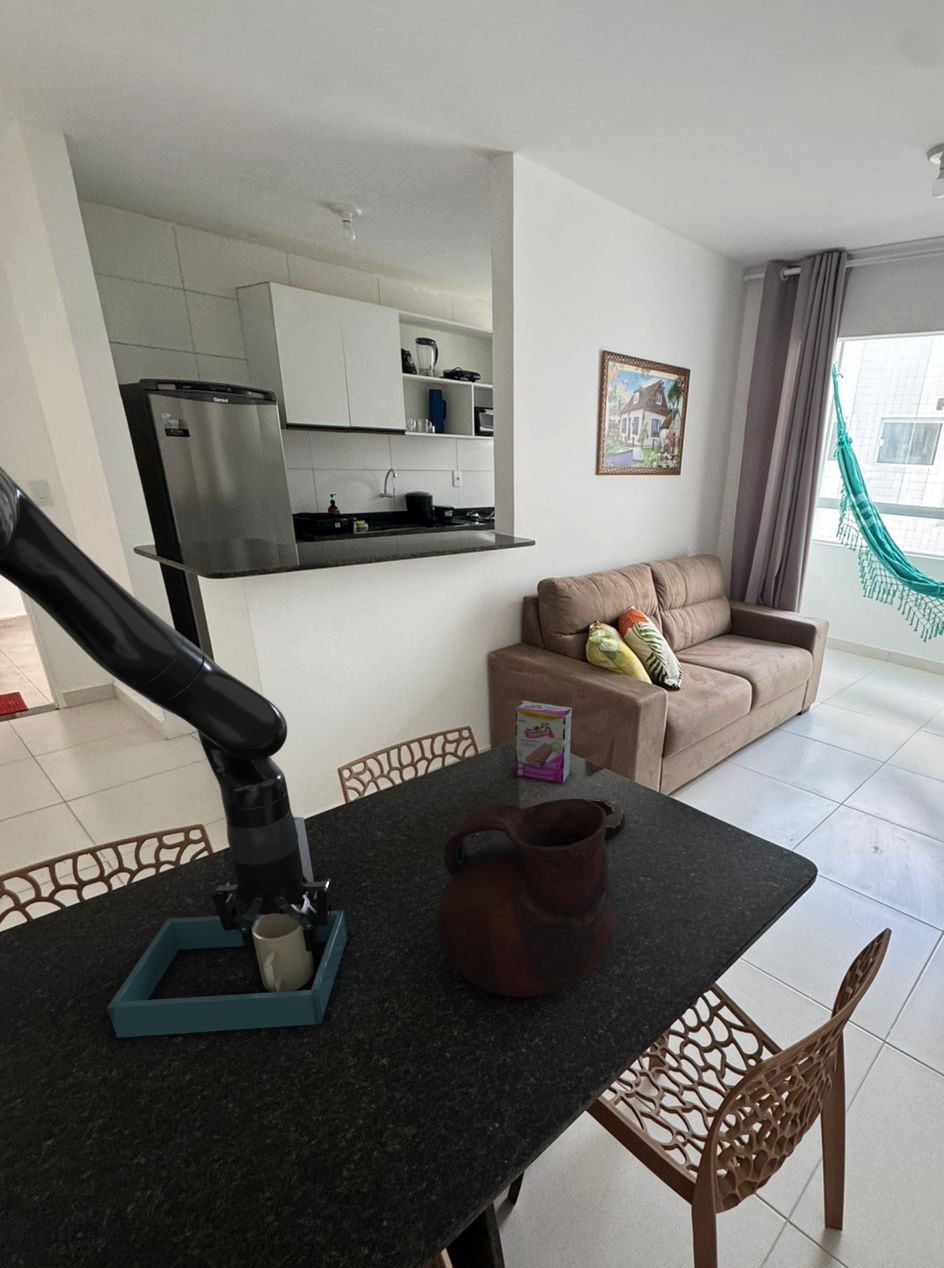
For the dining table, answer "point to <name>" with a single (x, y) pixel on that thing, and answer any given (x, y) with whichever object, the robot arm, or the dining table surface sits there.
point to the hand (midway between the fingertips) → (284, 948)
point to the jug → (528, 897)
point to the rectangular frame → (225, 1011)
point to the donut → (611, 816)
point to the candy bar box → (543, 741)
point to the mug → (282, 953)
